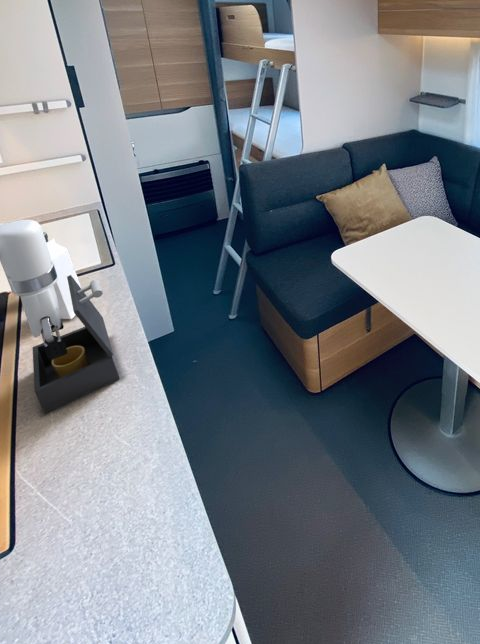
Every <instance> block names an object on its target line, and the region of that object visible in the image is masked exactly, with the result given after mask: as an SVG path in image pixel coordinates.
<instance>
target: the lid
mask: <svg viewBox="0 0 480 644" xmlns="http://www.w3.org/2000/svg"><path fill="white" fill-rule="evenodd" d="M67 279H68V284H69V290H70V295H71V300H72V305H73V311H74V313H75V314H76V316H75V317H76V318H78V320H79V321H80V322H81V323H82V325H83V327H86V328H87V329H88V331H89V332H90V333H91V334H92V336H93V337H94V338H95V339H96V341H97V342H98V343H99V344H100V346H101V347H102V348H103V349H104V351H105V352H106V353H107V354H108V356H109V357H111V356H114V352H113V348H112V345H111V341H110V338H109V334H108V330H107V327H106V323H105V319H104V317H103V315H102V314H101V313H100V311H99V310H98V309H97V308H96V306H95V305H94V304H93V303H92V301H91V299H93V298H94V299H95V298H97V299H98V298H101V297H102V296H103V294H104V293H103V289H102V286H101V283H100V280H98V279H93V280H92V281H91V282H90V283H89V285H87V286H85V287H83V288H82V287H81V288H82V289H81V288H80V286H79V285H78V284H77V283H76V281H75V280H74V279H73V277H72V276H71V275H70V276H68V277H67ZM87 291H91V293H90V294H88V295H87V294H86V292H87Z"/></svg>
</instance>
